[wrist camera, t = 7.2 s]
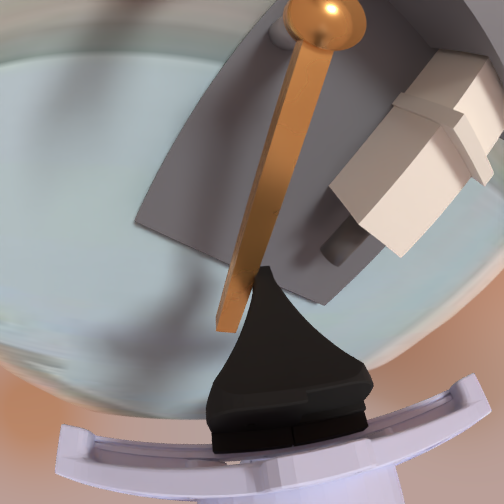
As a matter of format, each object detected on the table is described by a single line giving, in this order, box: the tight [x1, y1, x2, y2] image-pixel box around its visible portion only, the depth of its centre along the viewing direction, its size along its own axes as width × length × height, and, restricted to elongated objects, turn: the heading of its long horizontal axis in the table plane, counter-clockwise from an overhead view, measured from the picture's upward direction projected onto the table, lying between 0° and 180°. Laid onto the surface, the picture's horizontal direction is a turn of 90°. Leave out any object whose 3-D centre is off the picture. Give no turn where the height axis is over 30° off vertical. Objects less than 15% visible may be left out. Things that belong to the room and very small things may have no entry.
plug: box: [320, 49, 504, 267], centre depth 12 cm, size 4×17×5 cm, turn 146°
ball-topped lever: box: [216, 0, 367, 333], centre depth 10 cm, size 15×2×1 cm, turn 165°
